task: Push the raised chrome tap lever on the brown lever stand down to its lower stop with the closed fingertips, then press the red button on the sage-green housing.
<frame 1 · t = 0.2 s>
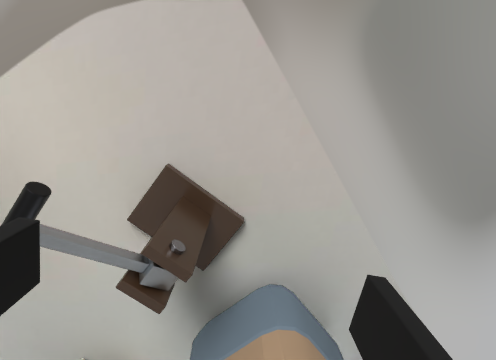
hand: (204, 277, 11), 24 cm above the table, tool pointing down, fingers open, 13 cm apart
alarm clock: (265, 331, 41), on the table
tap lever: (102, 252, 22), point 14 cm above the table, hinge at 25.0°
brown lever stand: (187, 217, 36), on the table
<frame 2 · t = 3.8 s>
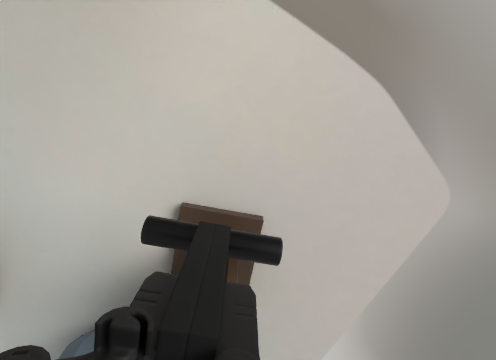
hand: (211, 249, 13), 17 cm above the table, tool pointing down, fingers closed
tap lever: (203, 303, 18), point 14 cm above the table, hinge at 19.5°, touching gripper
brown lever stand: (214, 256, 32), on the table
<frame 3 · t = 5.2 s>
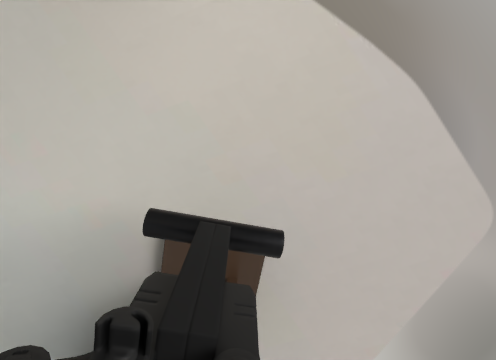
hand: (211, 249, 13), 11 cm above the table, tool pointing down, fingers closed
tap lever: (196, 337, 15), point 11 cm above the table, hinge at -9.7°, touching gripper
brown lever stand: (208, 286, 27), on the table
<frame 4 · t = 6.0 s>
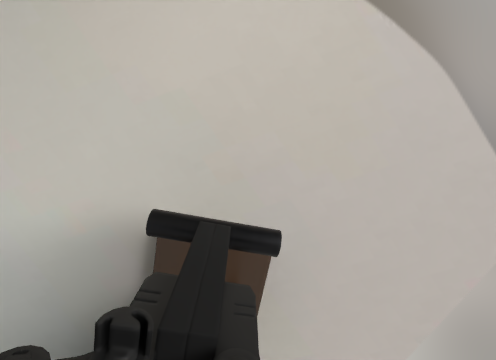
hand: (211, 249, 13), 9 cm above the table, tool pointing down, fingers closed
tap lever: (193, 352, 14), point 10 cm above the table, hinge at -27.8°, touching gripper
brown lever stand: (206, 298, 24), on the table
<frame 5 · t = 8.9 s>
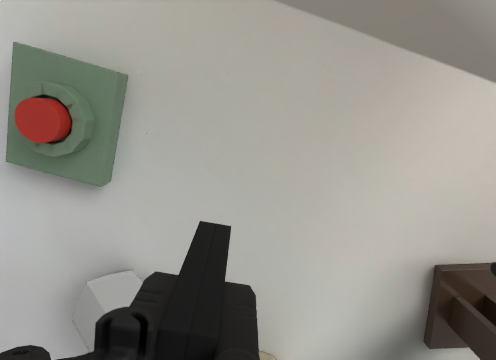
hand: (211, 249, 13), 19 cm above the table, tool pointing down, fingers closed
faucet: (179, 305, 36), on the table
button box: (73, 118, 30), on the table
button: (43, 120, 26), point 4 cm above the table, slide at 0.1 cm
brown lever stand: (463, 303, 36), on the table
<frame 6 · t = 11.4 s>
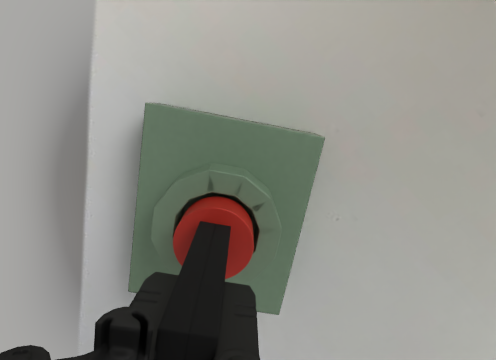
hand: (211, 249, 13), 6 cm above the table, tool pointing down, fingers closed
button box: (222, 207, 19), on the table
button: (215, 237, 14), point 4 cm above the table, slide at 0.0 cm, touching gripper
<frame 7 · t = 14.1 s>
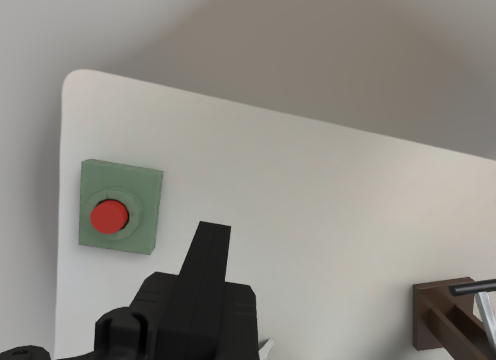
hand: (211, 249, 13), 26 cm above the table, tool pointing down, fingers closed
button box: (124, 205, 40), on the table
button: (109, 216, 35), point 4 cm above the table, slide at 0.1 cm
tap lever: (493, 335, 35), point 10 cm above the table, hinge at -28.1°
brown lever stand: (439, 312, 45), on the table
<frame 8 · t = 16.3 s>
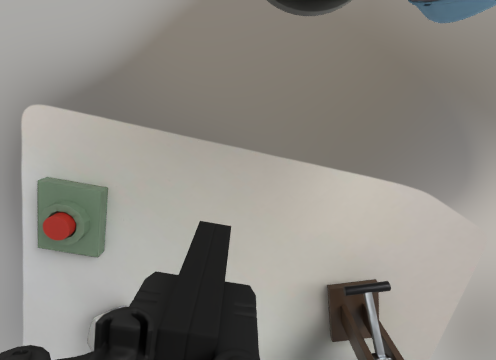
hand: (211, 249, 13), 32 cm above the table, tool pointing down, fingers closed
button box: (76, 215, 47), on the table
button: (59, 226, 43), point 4 cm above the table, slide at 0.1 cm
tap lever: (374, 328, 42), point 10 cm above the table, hinge at -28.1°
brown lever stand: (352, 309, 53), on the table
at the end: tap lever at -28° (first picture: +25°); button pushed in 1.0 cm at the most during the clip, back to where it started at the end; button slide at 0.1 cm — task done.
